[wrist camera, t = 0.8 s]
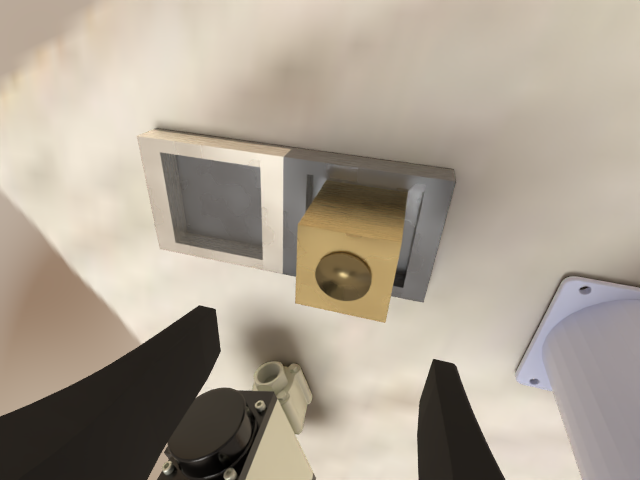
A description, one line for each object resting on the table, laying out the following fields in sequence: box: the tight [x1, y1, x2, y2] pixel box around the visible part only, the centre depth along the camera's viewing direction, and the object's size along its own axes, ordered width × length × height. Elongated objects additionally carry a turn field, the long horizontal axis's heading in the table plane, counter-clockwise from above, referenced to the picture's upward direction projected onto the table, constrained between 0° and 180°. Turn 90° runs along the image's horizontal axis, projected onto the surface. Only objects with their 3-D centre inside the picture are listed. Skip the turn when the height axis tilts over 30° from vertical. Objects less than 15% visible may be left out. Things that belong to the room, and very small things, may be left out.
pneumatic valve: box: [157, 361, 316, 480], centre depth 24 cm, size 6×12×12 cm, turn 18°
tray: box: [137, 128, 456, 302], centre depth 20 cm, size 16×7×2 cm, turn 88°
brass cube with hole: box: [295, 180, 408, 323], centre depth 18 cm, size 4×4×5 cm
